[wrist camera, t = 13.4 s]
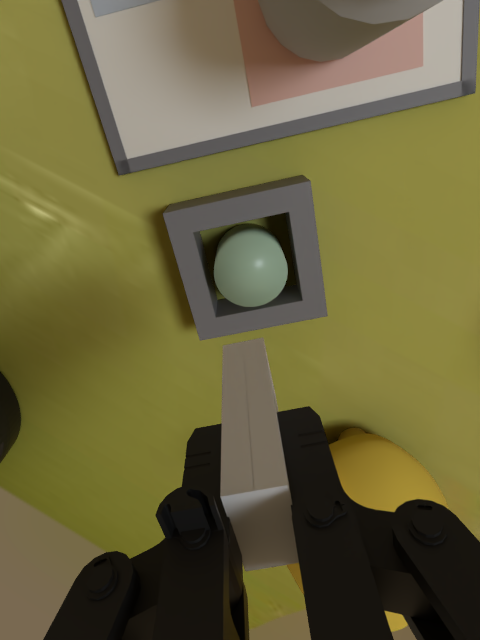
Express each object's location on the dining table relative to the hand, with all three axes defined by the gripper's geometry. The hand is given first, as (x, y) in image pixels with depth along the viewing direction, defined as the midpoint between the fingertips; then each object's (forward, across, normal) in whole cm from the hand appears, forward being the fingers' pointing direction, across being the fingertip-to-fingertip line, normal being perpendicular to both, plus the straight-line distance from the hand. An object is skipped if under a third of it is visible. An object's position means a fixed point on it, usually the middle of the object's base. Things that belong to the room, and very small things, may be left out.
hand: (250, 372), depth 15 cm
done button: (+14, +1, 0) cm, 14 cm away
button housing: (+15, +1, 0) cm, 15 cm away
